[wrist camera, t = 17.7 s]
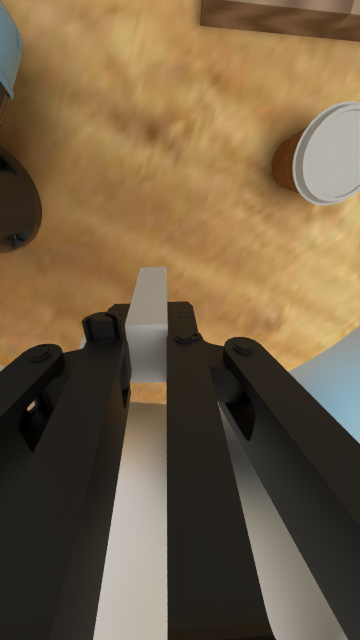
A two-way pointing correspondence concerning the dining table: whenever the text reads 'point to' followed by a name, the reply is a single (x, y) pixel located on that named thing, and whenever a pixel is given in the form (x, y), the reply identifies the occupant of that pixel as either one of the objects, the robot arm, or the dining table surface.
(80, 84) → the dining table surface
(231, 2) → the walnut block
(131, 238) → the dining table surface
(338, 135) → the disposable coffee cup
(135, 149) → the dining table surface
